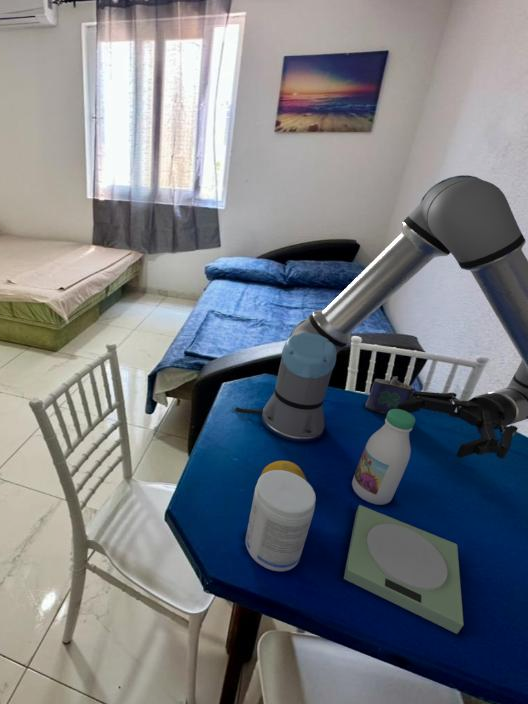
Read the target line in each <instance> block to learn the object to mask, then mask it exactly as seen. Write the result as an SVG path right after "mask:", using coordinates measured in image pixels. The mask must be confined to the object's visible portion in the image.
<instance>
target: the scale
mask: <svg viewBox="0 0 528 704" xmlns="http://www.w3.org/2000/svg"><path fill="white" fill-rule="evenodd" d="M348 548H349V549H348V553H347V558H346V564H345V569H344V575H343V580H345V581H347V582H349V583H352V584H353V585H356V586H358V587H360V588H362V589H364V590H365V591H368V592H369V593H372V594H373V595H376V596H378V597H379V598H382V599H384V600H386V601H388V602H390V603H392V604H394V605H397V606H399V607H401V608H403V609H404V610H407V611H409V612H411V613H413V614H415V615H417V616H419V617H421V618H423V619H425V620H427V621H429V622H431V623H433V624H436V625H438V626H440V627H442V628H444V629H446V630H448V631H450V632H451V633H453V634H456V635H458V634H459V632H460V631H461V630H462V628H463V627H464V624H465V623H464V613H463V599H462V587H461V576H460V575H461V573H460V560H459V550H458V544H457V543H455V542H452V541H451V540H447V539H446V538H443V537H440V536H437V535H435V534H433V533H430V532H428V531H426V530H423V529H420V528H418V527H415V526H413V525H411V524H408V523H406V522H403V521H400V520H398V519H396V518H394V517H390V516H388V515H386V514H383V513H381V512H378V511H376V510H373V509H371V508H369V507H366V506H364V505H361V504H359V505H358V507H357V510H356V512H355V517H354V521H353V527H352V533H351V537H350V543H349V547H348Z"/></svg>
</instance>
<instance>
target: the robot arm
mask: <svg viewBox="0 0 528 704" xmlns="http://www.w3.org/2000/svg"><path fill="white" fill-rule="evenodd" d="M525 244H526V238H525V236H524V235H523V233H522V231H521V229H520V226H519V225H518V223H517V220H516V218H515V216H514V213H513V211H512V209H511V206H510V203H509V202H508V199H507V197H506V195H505V194H504V192H503V191H502V190H501V188H499V187H498V186H497V185H495V184H494V183H492V182H489V181H487V180H484V179H482V178H479V177H477V176H475V175H474V176H473V175H468V174H467V175H466V174H465V175H464V174H463V175H454V176H450V177H447V178H445V179H442V180H440V181H439V182H437V183H435V184H434V185H433V186H431V187H430V188H429V189H428V190H427V191H426V192H425V194H424V196H422V198H421V200H420V203H419V204H418V205H417V206H416V207H415V209H413V210H412V212H411V213H409V214H408V216H406V217H405V219H404V220H403V221H402V222H401V232H400V233H399V234H398V235H397V236H396V238H394V240H392V242H390V244H389V245H387V246H386V248H384V250H382V251H381V252H380V254H379V255H377V256H376V258H375V259H374V260H373V261H372V262H370V263H369V265H367V266H366V267H365V269H364V270H363V271H361V272H360V273H359V275H357V276H356V278H354V280H352V282H350V284H348V285H347V286H346V288H344V290H342V292H341V293H340V294H339V295H337V296H336V297H335V298H334V300H332V301H331V303H329V304H328V305H327V307H326V308H324V309H317V310H314V311H313V312H311V314H309V316H308V317H307V318H305V319H303V320H301V321H299V323H297V324H296V325H295V326H294V328H293V329H292V330H291V332H290V334H289V337H288V338H287V340H286V341H285V343H284V344H283V347H282V350H281V359H280V364H279V367H278V373H277V377H276V382H275V388H274V391H273V394H272V395H271V396H270V397H269V400H267V402H266V404H265V405H264V407H263V409H256V408H255V409H254V408H242V407H235V412H239V413H245V414H257V415H258V414H259V415H261V417H260V418H261V422H262V424H263V426H264V427H265V428H266V429H267V431H269V432H270V433H271V434H272V435H275V436H276V437H278V438H281V439H282V440H286V441H289V442H294V443H311V442H314V441H317V440H318V439H320V438H321V437H322V435H323V434H324V430H325V425H326V422H327V420H326V419H325V416H324V407H323V405H324V401H325V398H326V394H327V391H328V387H329V384H330V380H331V377H332V373H333V370H334V368H335V366H336V362H337V356H338V355H337V354H339V352H341V351H342V350H343V349H344V348H345V347H347V345H349V343H350V342H351V341H352V339H351V337H352V336H351V333H352V332H354V331H355V329H357V328H358V327H359V326H360V325H362V323H364V321H366V320H367V319H368V318H369V317H370V316H371V315H373V314H374V313H375V312H376V311H377V310H378V309H379V308H380V307H381V306H382V305H383V304H385V303H386V302H387V301H388V300H389V299H390V298H391V297H392V296H394V294H396V293H397V292H398V291H399V290H400V289H402V287H403V286H405V284H407V283H408V282H409V281H410V280H411V279H412V278H413V277H414V276H415V275H417V274H418V273H419V272H420V271H421V270H423V269H424V268H425V267H426V266H427V265H428V264H429V263H430V262H431V261H432V260H433V259H435V258H437V257H448V256H449V255H450V254H451V255H452V256H453V258H455V261H456V262H457V264H458V266H459V267H460V269H461V270H465V271H470V273H471V275H472V276H473V278H474V280H475V281H476V283H477V285H478V287H479V288H480V290H481V292H482V294H483V295H484V296H485V298H486V300H487V302H488V304H489V306H490V307H491V309H492V311H493V312H494V314H495V316H496V317H497V319H498V321H499V322H500V324H501V326H502V327H503V330H504V332H505V333H506V335H507V336H508V338H509V340H510V341H511V343H512V345H513V346H514V348H515V350H516V352H517V354H518V355H519V357H520V358H521V361H520V363H519V365H518V367H517V369H516V371H515V373H514V374H513V377H512V378H511V380H510V382H509V383H508V385H507V387H505V388H502V389H499V390H494V391H490V392H487V393H486V392H485V393H483V394H479V395H476V396H474V397H472V398H470V399H468V400H461V399H459V398H457V393H456V392H445V393H443V392H433V391H419V390H413V391H412V393H411V395H410V397H409V400H406V401H405V403H402V404H399V405H398V407H397V409H400V410H404V411H406V412H408V413H410V414H412V413H415V412H419V411H420V410H421V409H422V410H427V411H431V412H432V411H433V412H438V413H443V414H447V415H448V416H449V417H452V418H459V419H460V420H463V421H465V422H466V423H468V424H469V425H471V426H472V427H475V428H476V429H477V430H476V431H477V433H478V434H479V435H480V438H477V439H474V440H472V441H468V442H465V443H463V444H461V445H460V447H459V448H458V450H457V452H456V455H455V456H456V457H457V458H458V459H463V458H464V457H467V456H470V455H473V454H474V455H475V454H476V455H478V456H483V455H486V454H496V457H498V458H499V459H505V458H506V456H507V454H508V453H509V451H510V450H511V446H512V442H513V441H512V440H513V438H514V437H515V434H516V433H517V431H518V429H519V427H518V426H516V425H513V424H517V423H519V422H522V421H523V422H524V421H525V420H528V259H527V257H526V255H525V253H524V251H523V247H524V246H525ZM497 430H499V433H500V434H499V435H500V439H499V438H497V436H496V434H495V433H496V432H495V431H497Z"/></svg>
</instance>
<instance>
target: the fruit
mask: <svg viewBox="0 0 528 704" xmlns="http://www.w3.org/2000/svg"><path fill="white" fill-rule="evenodd" d="M273 470H283V471H288V472H291V473H294V474H296V475H298V476H300V477H301V478H303V479H304V480H306V481H307V478H306V475H305V473H304V472H303V470H302V469H301V468H300V466H299V465H297V464H296V463H294V462H291V461H289V460H276V461H273V462H271V463H269V464H267V465H266V466H265V467H264V468H263V470H262V471H261V474H260V476H261V475H263V474H264V473H266V472H268V471H273Z"/></svg>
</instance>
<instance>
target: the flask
mask: <svg viewBox="0 0 528 704" xmlns="http://www.w3.org/2000/svg"><path fill="white" fill-rule="evenodd" d="M391 378H392V379H390V380H388V379H382V378H375V379H374V381H373V383H372V386H371V389H370V391H369V394H368V398H367V399H366V403H365V409H368V410H370V411H373V412H378V413H382V414H387V413H388V412H389V411H390V410H391V409H397V407H398V405H399V404H402V403H405V401H406V400H409V397H410V395H411V393H412V391H414V388H413V386H412V385H409V384H407V383H405V382H404V383H402V382H401V381H400V380H398V379H399V377H398V376H396V375H395V376H394V375H393V376H392V377H391Z"/></svg>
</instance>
